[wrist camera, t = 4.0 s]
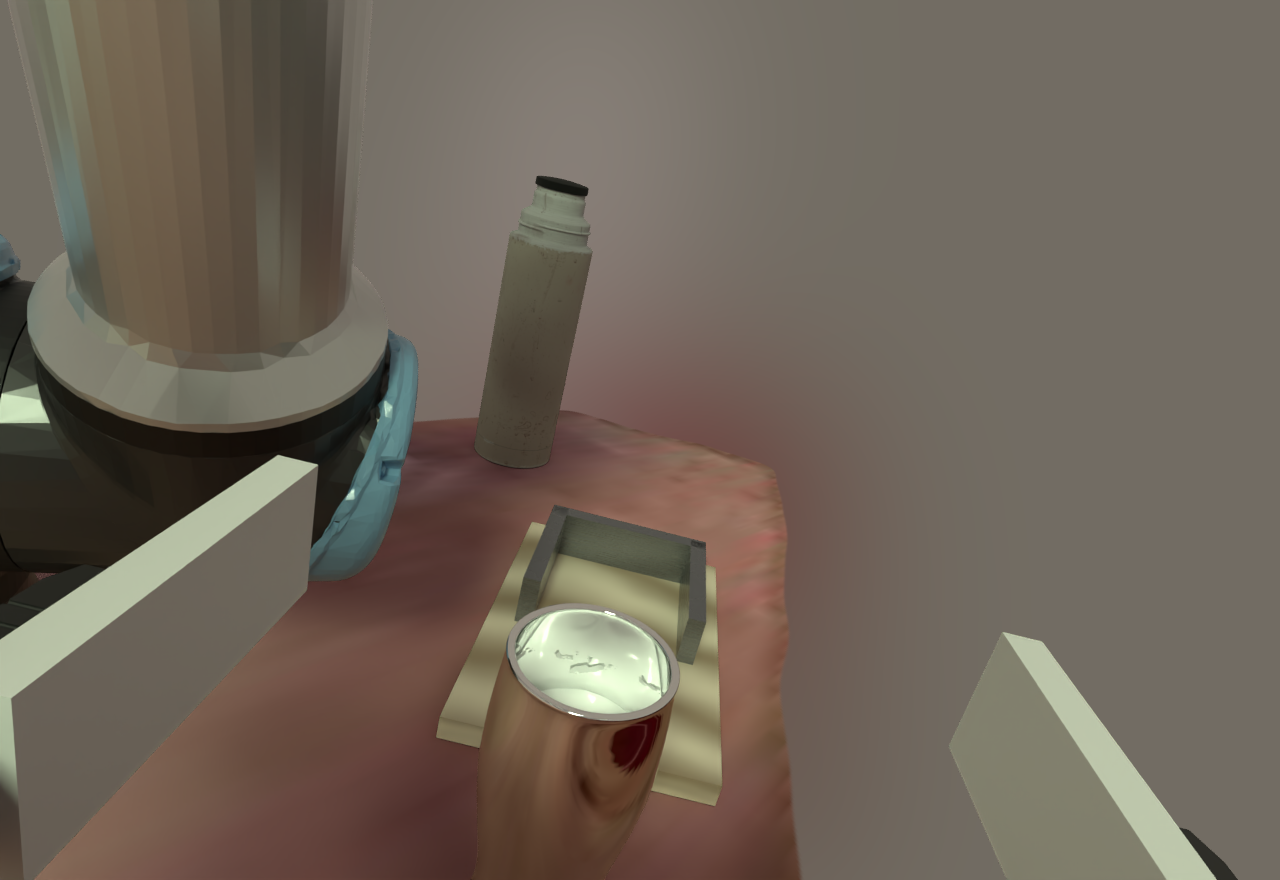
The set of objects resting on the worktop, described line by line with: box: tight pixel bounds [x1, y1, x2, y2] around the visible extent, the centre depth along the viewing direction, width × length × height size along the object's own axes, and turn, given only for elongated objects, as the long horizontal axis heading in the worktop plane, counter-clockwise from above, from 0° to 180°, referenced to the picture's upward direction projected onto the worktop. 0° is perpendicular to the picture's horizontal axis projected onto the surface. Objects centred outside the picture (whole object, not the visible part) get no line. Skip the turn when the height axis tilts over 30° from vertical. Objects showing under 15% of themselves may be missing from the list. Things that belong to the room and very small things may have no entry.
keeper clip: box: [514, 505, 706, 665], centre depth 55 cm, size 11×12×4 cm
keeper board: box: [436, 522, 722, 806], centre depth 53 cm, size 24×16×2 cm, turn 175°
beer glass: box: [470, 603, 680, 880], centre depth 30 cm, size 7×7×15 cm
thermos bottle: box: [474, 176, 592, 468], centre depth 75 cm, size 8×8×28 cm
